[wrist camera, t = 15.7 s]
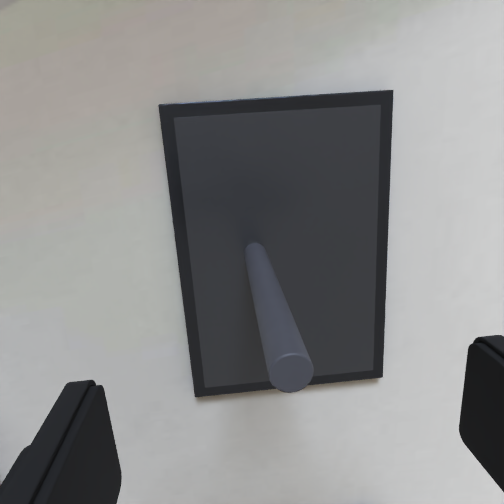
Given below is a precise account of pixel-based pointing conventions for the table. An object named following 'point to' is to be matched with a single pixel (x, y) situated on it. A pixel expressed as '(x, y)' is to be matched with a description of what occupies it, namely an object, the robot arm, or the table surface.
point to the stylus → (276, 325)
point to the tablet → (282, 229)
